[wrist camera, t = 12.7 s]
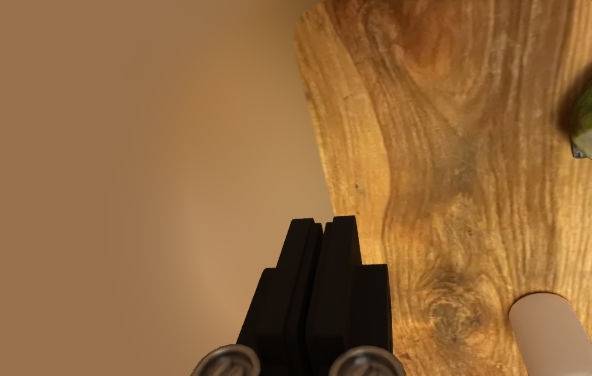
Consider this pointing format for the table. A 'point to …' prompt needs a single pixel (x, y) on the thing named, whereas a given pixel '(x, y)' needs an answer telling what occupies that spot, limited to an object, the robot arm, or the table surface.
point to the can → (550, 336)
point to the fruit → (582, 123)
